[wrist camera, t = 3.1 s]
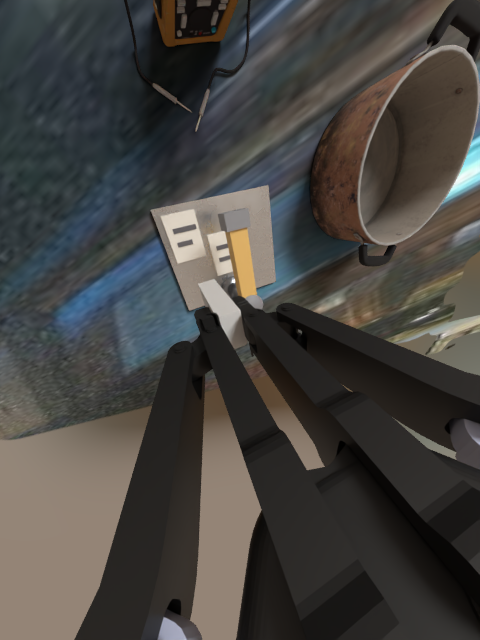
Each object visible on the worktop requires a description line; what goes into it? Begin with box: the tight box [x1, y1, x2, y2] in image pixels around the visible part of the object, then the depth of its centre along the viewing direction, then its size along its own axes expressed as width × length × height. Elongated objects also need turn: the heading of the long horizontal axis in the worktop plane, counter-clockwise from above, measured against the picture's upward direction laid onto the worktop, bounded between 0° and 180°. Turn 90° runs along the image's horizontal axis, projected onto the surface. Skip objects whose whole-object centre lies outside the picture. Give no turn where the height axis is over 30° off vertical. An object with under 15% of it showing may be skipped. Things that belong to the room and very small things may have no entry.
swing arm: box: [218, 208, 263, 310], centre depth 28 cm, size 16×4×3 cm, turn 11°
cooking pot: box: [310, 0, 480, 266], centre depth 32 cm, size 30×22×11 cm
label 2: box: [207, 231, 233, 276], centre depth 33 cm, size 5×7×1 cm
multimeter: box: [124, 0, 250, 133], centre depth 15 cm, size 15×10×20 cm
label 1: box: [161, 209, 207, 264], centre depth 30 cm, size 5×7×1 cm
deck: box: [151, 185, 276, 311], centre depth 32 cm, size 19×18×7 cm
